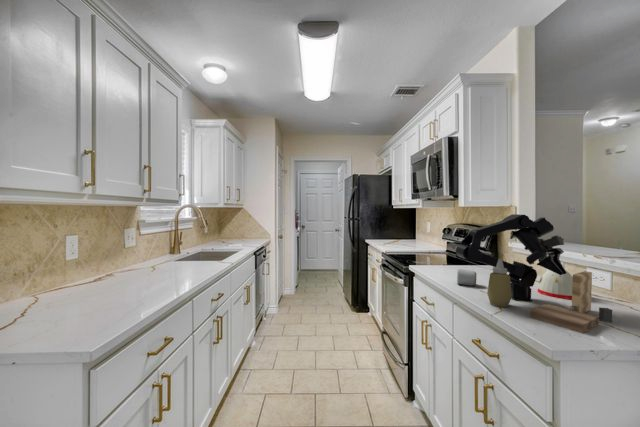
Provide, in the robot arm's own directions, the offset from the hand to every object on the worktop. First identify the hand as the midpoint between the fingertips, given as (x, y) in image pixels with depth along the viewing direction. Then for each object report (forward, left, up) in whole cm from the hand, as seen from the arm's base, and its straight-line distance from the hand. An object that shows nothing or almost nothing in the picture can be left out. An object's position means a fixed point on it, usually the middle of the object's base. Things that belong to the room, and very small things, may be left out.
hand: (563, 274), depth 105 cm
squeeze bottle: (-22, 0, -13) cm, 26 cm away
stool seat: (-8, -13, -13) cm, 20 cm away
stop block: (+7, -10, -13) cm, 18 cm away
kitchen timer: (+10, +20, -13) cm, 26 cm away
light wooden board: (+3, -4, -13) cm, 14 cm away
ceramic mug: (-25, +29, -13) cm, 41 cm away
